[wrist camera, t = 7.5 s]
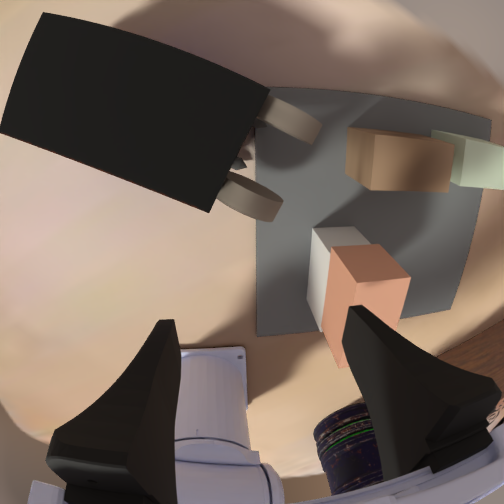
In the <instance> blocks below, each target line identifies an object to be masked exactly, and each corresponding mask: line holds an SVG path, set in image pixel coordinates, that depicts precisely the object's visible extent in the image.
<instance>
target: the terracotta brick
mask: <svg viewBox="0 0 504 504" xmlns="http://www.w3.org/2000/svg"><path fill="white" fill-rule="evenodd" d="M410 280H411V277H410V276H409V275H408V273H407V272H406V271H405V270H404V269H403V268H402V267H401V266H400V265H399V264H398V263H397V262H396V261H395V260H394V259H393V258H392V257H391V256H390V255H389V254H388V252H387V251H386V250H385V249H384V248H383V247H382V246H381V245H380V244H369V245H351V246H333V247H331V253H330V262H329V271H328V279H327V287H326V294H325V302H324V309H323V316H322V323H321V328H322V330H323V333H324V335H325V337H326V340H327V342H328V344H329V347H330V349H331V352H332V354H333V356H334V359H335V361H336V364H337V366H338V368H345V367H349V364H348V362H347V359H346V356H345V353H344V349H343V346H342V342H341V341H342V336H343V332H344V327H345V323H346V318H347V313H348V308H349V306H355V305H363V306H364V307H366V308H367V309H368V310H370V311H371V312H372V313H373V314H375V315H376V316H377V317H378V318H380V319H381V320H382V321H383V322H384V323H386V324H387V325H388V326H390V327H391V328H392V329H393V330H395V331H396V328H397V325H398V322H399V319H400V315H401V312H402V309H403V305H404V302H405V298H406V295H407V291H408V287H409V283H410Z"/></svg>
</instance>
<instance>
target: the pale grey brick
mask: <svg viewBox="0 0 504 504" xmlns="http://www.w3.org/2000/svg"><path fill="white" fill-rule="evenodd" d="M369 244H371V243H370V242H369V241H368V240H367V239H366V238H365V237H364V236H363V235H362V234H361V233H360V232H359V231H358V230H357V229H356V228H355V227H354V226H350V227H324V228H312V240H311V253H310V266H309V277H308V288H307V302H308V304H309V306H310V309H311V311H312V313H313V316H314V318H315V321H316V323H317V325H318V328H319V330H320V332H323V330H322V328H321V323H322V316H323V309H324V302H325V294H326V287H327V279H328V271H329V262H330V253H331V247H333V246H351V245H369Z"/></svg>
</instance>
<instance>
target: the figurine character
mask: <svg viewBox="0 0 504 504" xmlns="http://www.w3.org/2000/svg"><path fill="white" fill-rule="evenodd" d="M270 90H271V89H269V88H267V87H265V86H263V85H261V84H259V83H257V82H255V81H252V80H250V79H248V78H246V77H244V76H242V75H240V74H238V73H235V72H233V71H231V70H229V69H226V68H224V67H222V66H220V65H217V64H215V63H213V62H210V61H208V60H205V59H203V58H200V57H198V56H195V55H193V54H190V53H188V52H185V51H183V50H180V49H177V48H175V47H172V46H169V45H166V44H163V43H161V42H158V41H155V40H152V39H149V38H146V37H143V36H139V35H136V34H133V33H130V32H126V31H123V30H119V29H116V28H112V27H109V26H105V25H101V24H97V23H93V22H89V21H85V20H81V19H76V18H71V17H67V16H62V15H56V14H51V13H45V12H43V13H42V15H41V17H40V19H39V21H38V23H37V26H36V28H35V30H34V32H33V34H32V36H31V39H30V41H29V43H28V45H27V48H26V50H25V53H24V55H23V57H22V60H21V63H20V65H19V68H18V70H17V73H16V76H15V79H14V82H13V84H12V87H11V90H10V93H9V97H8V100H7V103H6V106H5V110H4V113H3V117H2V121H1V124H0V133H1V134H4V135H7V136H10V137H12V138H15V139H18V140H21V141H23V142H26V143H29V144H32V145H34V146H37V147H40V148H42V149H45V150H48V151H50V152H53V153H56V154H58V155H61V156H64V157H66V158H69V159H72V160H74V161H77V162H80V163H82V164H85V165H88V166H90V167H93V168H95V169H98V170H101V171H103V172H106V173H108V174H111V175H114V176H116V177H119V178H121V179H124V180H126V181H129V182H132V183H134V184H137V185H139V186H142V187H144V188H147V189H149V190H152V191H154V192H157V193H160V194H162V195H165V196H167V197H170V198H172V199H175V200H177V201H180V202H182V203H185V204H187V205H190V206H192V207H195V208H197V209H200V210H202V211H205V212H207V213H209V212H210V210H211V208H212V206H213V204H214V202H215V199H216V198H217V199H218V200H219V201H221V202H222V203H224V204H225V205H227V206H229V207H230V208H232V209H234V210H236V211H238V212H240V213H242V214H244V215H246V216H249V217H251V218H254V219H257V220H260V221H264V222H273V221H274V219H275V217H276V215H277V213H278V211H279V209H280V208H281V206H282V204H283V202H284V201H283V199H282V198H281V197H280V196H279V195H277V194H276V193H274V192H273V191H271V190H270V189H268V188H266V187H265V186H263V185H261V184H259V183H257V182H255V181H253V180H251V179H249V178H246V177H244V176H242V175H239V174H236V173H234V172H230V171H229V170H230V168H233V169H235V170H239V169H243V168H247V166H246V164H245V163H244V161H243V160H242V158H239V157H237V154H238V152H239V150H240V148H241V146H242V144H243V142H244V140H245V138H246V136H247V134H248V132H249V130H250V128H251V126H253V127H255V128H264V127H267V125H266V123H267V124H269V125H271V126H273V127H275V128H277V129H279V130H281V131H283V132H285V133H287V134H289V135H291V136H293V137H295V138H297V139H299V140H301V141H303V142H305V143H307V144H310V145H312V144H313V142H314V140H315V138H316V137H317V135H318V133H319V131H320V129H321V127H322V124H321V123H320V122H319V121H318V120H316V119H315V118H313V117H312V116H310V115H308V114H307V113H305V112H303V111H302V110H300V109H298V108H296V107H294V106H292V105H290V104H288V103H286V102H284V101H282V100H280V99H277V98H275V97H273V96H270V95H268V94H269V92H270Z"/></svg>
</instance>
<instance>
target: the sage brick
mask: <svg viewBox="0 0 504 504" xmlns="http://www.w3.org/2000/svg"><path fill="white" fill-rule="evenodd" d="M431 138H435V139H438V140H441V141H445V142H448V143H451V144H454V145H455V147H454V156H453V164H452V172H451V179H450V181H451V182H453V183H455V184H457V185H459V186H465V187H477V188H488V189H499V190H504V146H501V145H498V144H495V143H492V142H489V141H486V140H482V139H478V138H473V137H469V136H464V135H459V134H454V133H448V132H443V131H437V130H431Z"/></svg>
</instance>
